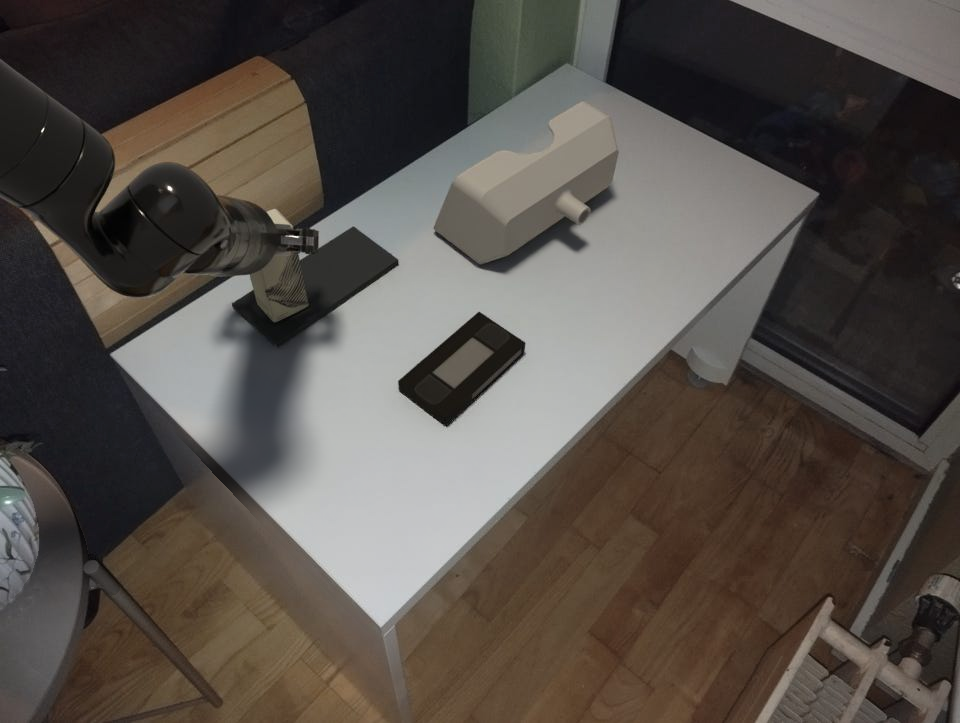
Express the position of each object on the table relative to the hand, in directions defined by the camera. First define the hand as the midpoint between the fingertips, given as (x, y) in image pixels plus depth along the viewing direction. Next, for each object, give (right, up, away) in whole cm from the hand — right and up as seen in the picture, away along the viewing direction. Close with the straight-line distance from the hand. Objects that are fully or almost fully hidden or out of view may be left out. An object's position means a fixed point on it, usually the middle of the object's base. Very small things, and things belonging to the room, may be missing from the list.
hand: (272, 240), depth 90 cm
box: (0, -7, +6) cm, 9 cm away
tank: (+32, +6, +18) cm, 37 cm away
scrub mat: (+3, -4, +9) cm, 11 cm away
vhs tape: (+22, -16, +2) cm, 27 cm away
